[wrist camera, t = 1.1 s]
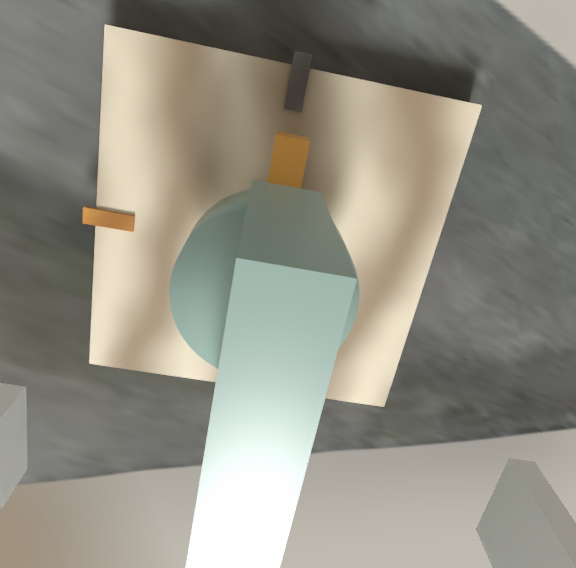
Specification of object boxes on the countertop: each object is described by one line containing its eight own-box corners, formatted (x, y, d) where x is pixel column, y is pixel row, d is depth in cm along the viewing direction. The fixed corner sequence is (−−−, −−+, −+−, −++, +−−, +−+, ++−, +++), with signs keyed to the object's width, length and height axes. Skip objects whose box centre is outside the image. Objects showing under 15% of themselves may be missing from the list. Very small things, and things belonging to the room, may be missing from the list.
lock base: (89, 347, 35) (56, 394, 30) (104, 11, 27) (63, -6, 22) (378, 390, 37) (395, 441, 32) (473, 91, 29) (516, 94, 24)
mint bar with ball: (173, 343, 28) (90, 562, 16) (200, 115, 24) (113, 158, 11) (323, 366, 29) (363, 591, 16) (379, 151, 25) (497, 230, 12)
